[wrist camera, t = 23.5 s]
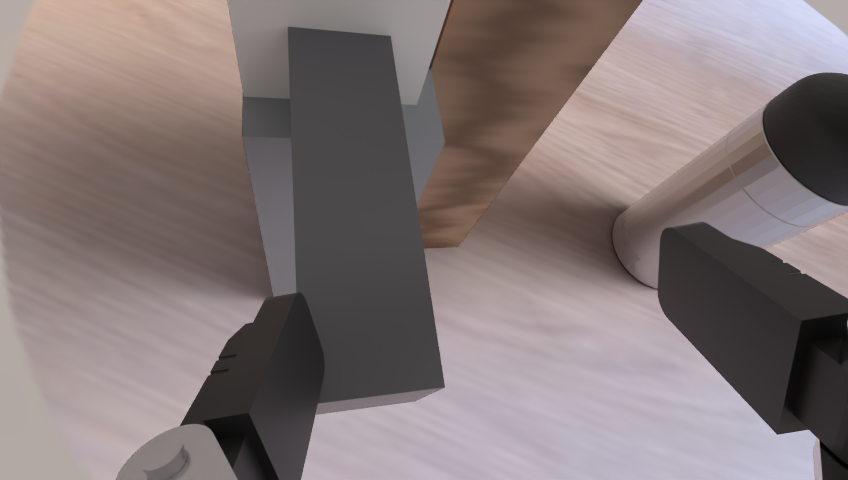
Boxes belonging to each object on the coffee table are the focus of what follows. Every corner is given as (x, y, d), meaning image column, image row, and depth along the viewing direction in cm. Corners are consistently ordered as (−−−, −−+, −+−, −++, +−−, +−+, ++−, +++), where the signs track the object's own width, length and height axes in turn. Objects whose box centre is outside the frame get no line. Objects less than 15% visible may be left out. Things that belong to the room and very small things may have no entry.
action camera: (406, -20, 23) (437, -162, 18) (483, 392, 15) (580, 359, 10) (217, -44, 20) (187, -217, 15) (191, 431, 13) (111, 416, 7)
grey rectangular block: (364, 190, 41) (413, -21, 23) (375, 294, 38) (445, 142, 19) (272, 190, 39) (245, -42, 21) (274, 301, 35) (241, 136, 17)
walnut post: (440, 155, 45) (666, -336, 17) (457, 246, 41) (788, -194, 13) (360, 153, 43) (468, -412, 15) (370, 250, 39) (543, -269, 11)
